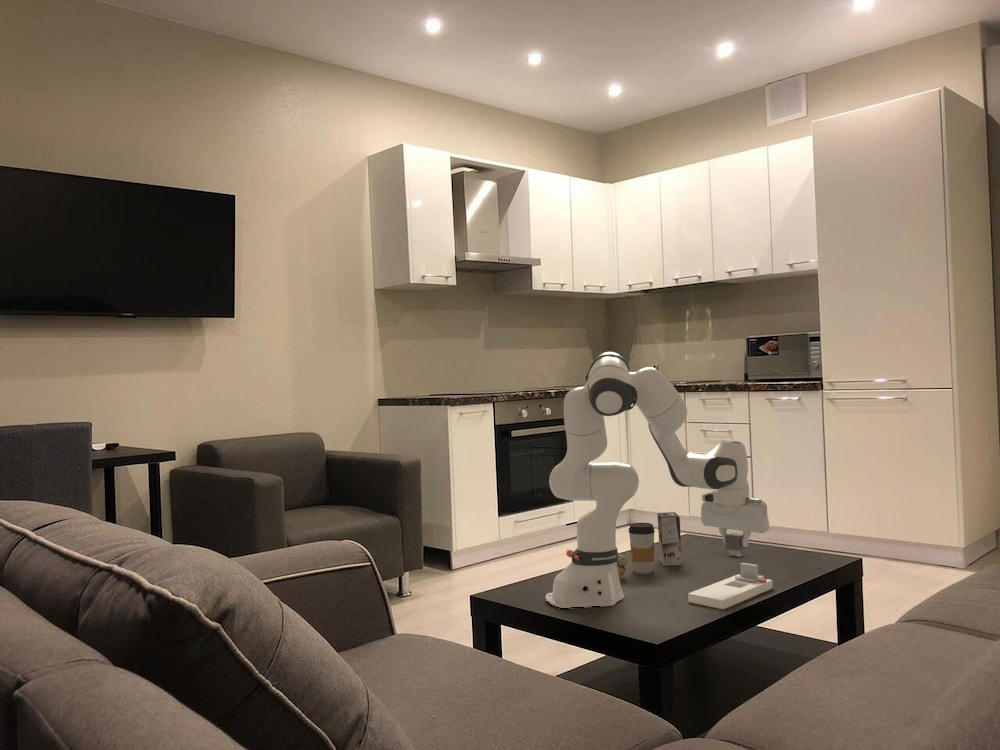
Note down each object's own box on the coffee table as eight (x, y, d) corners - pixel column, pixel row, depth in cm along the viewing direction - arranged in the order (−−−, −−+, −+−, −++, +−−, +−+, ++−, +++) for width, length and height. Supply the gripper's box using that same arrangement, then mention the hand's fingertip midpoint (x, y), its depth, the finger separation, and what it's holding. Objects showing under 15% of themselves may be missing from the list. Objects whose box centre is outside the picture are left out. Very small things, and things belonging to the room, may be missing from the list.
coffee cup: (656, 574, 256) (654, 527, 256) (629, 574, 257) (627, 527, 257) (656, 568, 264) (654, 522, 264) (630, 568, 266) (628, 522, 265)
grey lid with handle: (753, 582, 232) (752, 567, 232) (734, 579, 236) (734, 564, 236) (764, 578, 236) (763, 563, 236) (745, 574, 240) (745, 560, 240)
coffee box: (682, 565, 266) (680, 516, 266) (663, 566, 266) (660, 517, 266) (677, 558, 275) (675, 511, 275) (658, 559, 275) (656, 512, 275)
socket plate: (723, 609, 217) (722, 597, 217) (688, 602, 225) (688, 590, 225) (772, 588, 234) (772, 577, 234) (738, 582, 242) (738, 571, 242)
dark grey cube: (738, 551, 228) (737, 536, 228) (725, 549, 231) (725, 535, 231) (745, 548, 231) (745, 534, 231) (733, 546, 234) (733, 532, 234)
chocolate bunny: (623, 581, 250) (622, 549, 250) (599, 580, 253) (597, 548, 253) (628, 576, 255) (626, 545, 255) (603, 575, 258) (602, 544, 258)
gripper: (772, 498, 225) (774, 547, 225) (709, 491, 240) (711, 538, 241) (760, 501, 221) (762, 552, 221) (696, 495, 236) (699, 542, 236)
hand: (735, 544), depth 231 cm, fingers closed on dark grey cube, 4 cm apart
